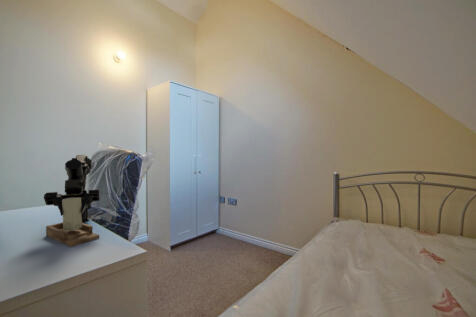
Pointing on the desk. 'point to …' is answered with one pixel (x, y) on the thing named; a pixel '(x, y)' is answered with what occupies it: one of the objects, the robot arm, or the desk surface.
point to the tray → (71, 234)
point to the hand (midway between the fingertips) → (71, 214)
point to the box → (72, 213)
